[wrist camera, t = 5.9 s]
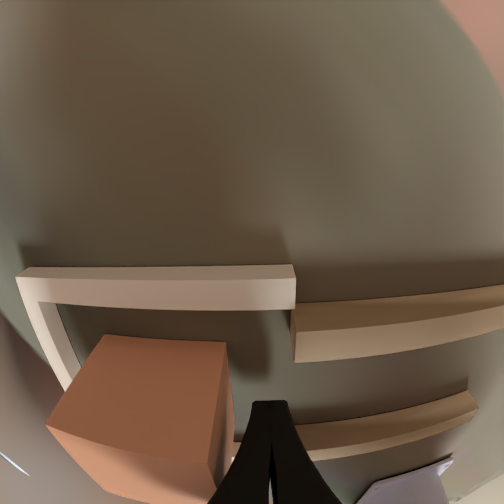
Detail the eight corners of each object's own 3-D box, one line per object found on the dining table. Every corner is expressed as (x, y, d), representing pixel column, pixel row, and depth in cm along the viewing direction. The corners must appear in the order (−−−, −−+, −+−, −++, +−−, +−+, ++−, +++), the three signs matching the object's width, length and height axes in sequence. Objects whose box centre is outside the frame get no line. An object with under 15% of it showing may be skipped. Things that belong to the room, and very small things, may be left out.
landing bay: (281, 450, 13) (282, 464, 12) (105, 432, 13) (100, 444, 12) (292, 264, 9) (296, 278, 8) (29, 266, 9) (15, 276, 8)
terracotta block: (234, 421, 12) (226, 514, 7) (136, 411, 12) (106, 491, 7) (226, 341, 10) (207, 463, 5) (104, 333, 10) (45, 424, 5)
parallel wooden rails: (460, 403, 12) (470, 420, 10) (282, 438, 12) (284, 463, 11) (513, 282, 9) (533, 297, 7) (291, 303, 9) (296, 331, 8)
